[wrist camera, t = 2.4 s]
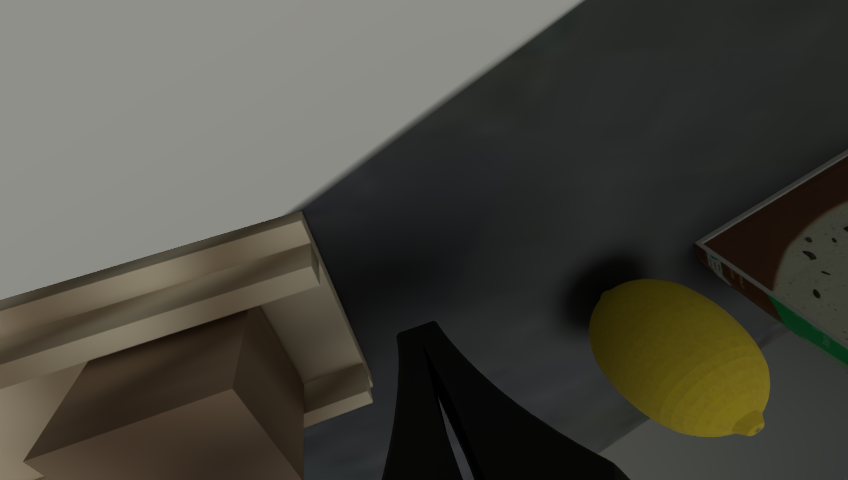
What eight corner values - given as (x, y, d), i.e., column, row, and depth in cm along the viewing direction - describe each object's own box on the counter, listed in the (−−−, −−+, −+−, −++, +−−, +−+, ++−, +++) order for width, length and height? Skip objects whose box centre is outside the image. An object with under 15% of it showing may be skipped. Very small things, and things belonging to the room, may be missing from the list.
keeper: (251, 294, 13) (232, 388, 10) (303, 384, 16) (303, 481, 12) (99, 343, 12) (22, 462, 9) (181, 427, 15) (145, 542, 12)
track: (301, 210, 13) (298, 297, 9) (370, 373, 18) (390, 478, 14) (-321, 395, 11) (-710, 626, 7) (-50, 524, 16) (-181, 706, 11)
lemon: (658, 294, 21) (823, 419, 14) (575, 349, 21) (698, 496, 15) (638, 228, 18) (834, 347, 11) (542, 293, 18) (677, 445, 12)
